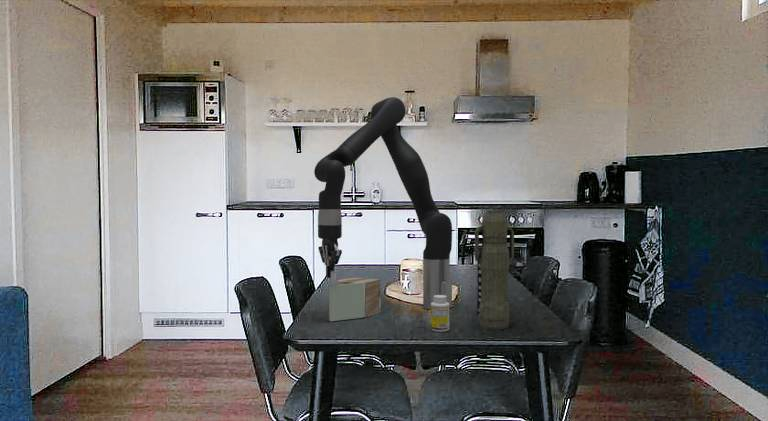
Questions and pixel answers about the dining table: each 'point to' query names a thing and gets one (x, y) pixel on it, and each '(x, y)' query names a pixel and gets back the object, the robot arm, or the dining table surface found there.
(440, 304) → the supplement bottle
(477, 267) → the white-spotted black cylinder
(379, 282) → the birch box
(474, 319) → the dining table surface
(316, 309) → the dining table surface
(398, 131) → the robot arm
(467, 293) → the dining table surface
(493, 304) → the thermos
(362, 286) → the grey-green rectangular panel
